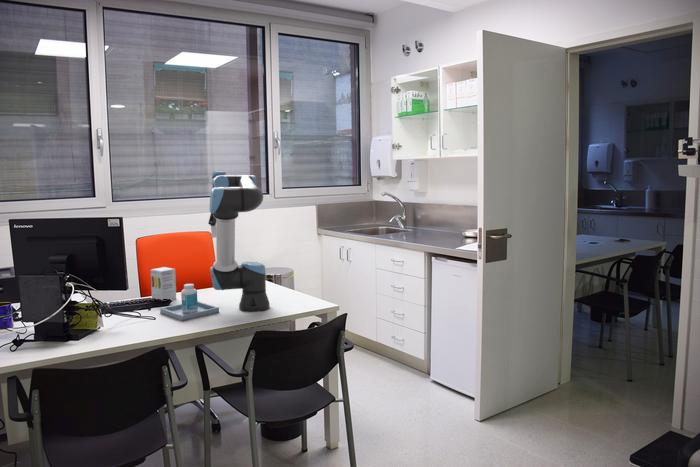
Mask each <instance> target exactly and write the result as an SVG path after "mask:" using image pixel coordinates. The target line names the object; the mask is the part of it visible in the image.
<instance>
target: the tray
mask: <svg viewBox="0 0 700 467" xmlns="http://www.w3.org/2000/svg"><path fill="white" fill-rule="evenodd" d="M197 301H198V300H197ZM159 310H160V314H161V315H163V316H166V317H170V318H172V319H175V320H177V321H180V322H184V321H188V320H189V321H190V320H194V319H197V318H202V317H206V316H210V315H214V314H215V315H216V314H218V313H220V307H218V306H215V305H211V304H207V303H205V302H203V301H198V311H197V312H194V313H183V312H182V303H180V304H175V305H170V306H164V307H161V308H159Z"/></svg>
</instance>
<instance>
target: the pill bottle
mask: <svg viewBox="0 0 700 467" xmlns="http://www.w3.org/2000/svg"><path fill="white" fill-rule="evenodd" d="M194 287H195V285H194V283H185V284H183V289H182V290H181V292H180V293H181V294H180V296H181V304H182V312H183V313H194V312H197V311H198V290H197V289H196V288H194Z"/></svg>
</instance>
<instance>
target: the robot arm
mask: <svg viewBox="0 0 700 467" xmlns="http://www.w3.org/2000/svg"><path fill="white" fill-rule="evenodd" d="M211 182H212V184H211V185H212V189H211V192H210V197H209V198H210V199H209V213H210V216H209V219H208V225H210V231H211V238H212V239H214V238H215V239H216V249H215V250H216V260H215V261H214V262H213V265H212V266H211V267H210V270H209V271H210V276H211V282H212V288H213V289H214V290H215V291H226V290H239V289H240V290H241V291H242V294H241V298H240V302H239V303H238V307H239V308H238V309H239V310H240V311H242V312H252V313H253V312H263V311H267V310H268V309H270V308H271V307H270V306H271V305H270V300H269V297H268V294H267V290H266V289H267V286H266V285H267V283H266V274H267V272H266V266H265V265H264V264H263V263H261V262H257V261H241V264H239V263H238V262H237V261H236V260H235V258H236V255H235V254H236V252H235V251H236V249H235V248H236V246H235V245H236V219H237V218H238V217H239V213H247V212H252V211H254V210H256V209H257V208H259V207H260V206H261V204H262V203H263V201H264V193H263V191H262V189H261V188H260V187H258V186H257V176H256V175H251V174H247V175H246V174H245V175H244V174H243V175H240V174H239V175H238V174H234V175H233V174H231V175H229V174H227V172H226V171H222V170H220V171H218V170H217V171H214V170H213V172H212V174H211Z"/></svg>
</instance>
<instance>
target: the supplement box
mask: <svg viewBox="0 0 700 467" xmlns="http://www.w3.org/2000/svg"><path fill="white" fill-rule="evenodd" d="M176 277H177V276H176V268H173V267H172V268H171V267H167V266H161V267H158V268H157V267H156V268H152V269H150V286H151V289H150V290H151V292H150V293H151V299H152V298H155V299H161V300H163V299H171V301H173V300H177V285H176V282H177V281H176V279H177V278H176Z"/></svg>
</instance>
